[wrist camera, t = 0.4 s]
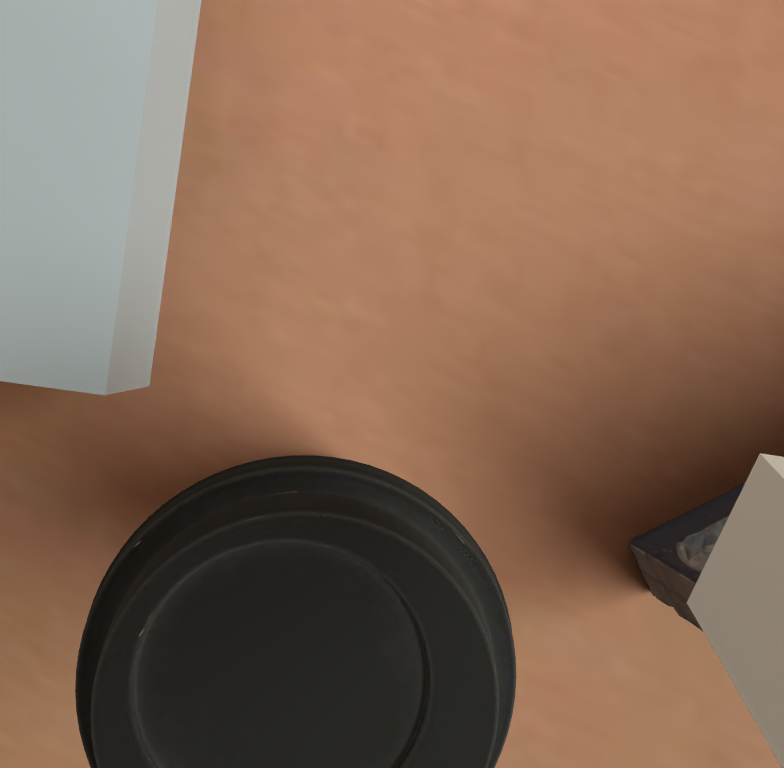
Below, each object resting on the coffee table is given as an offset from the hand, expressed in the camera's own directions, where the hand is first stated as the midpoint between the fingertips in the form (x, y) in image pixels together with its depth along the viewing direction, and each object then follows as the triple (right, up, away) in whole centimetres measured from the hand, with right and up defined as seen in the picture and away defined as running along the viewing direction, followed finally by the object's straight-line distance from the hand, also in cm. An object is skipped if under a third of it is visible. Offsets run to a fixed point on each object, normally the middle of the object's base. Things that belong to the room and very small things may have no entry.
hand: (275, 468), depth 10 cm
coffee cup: (-2, -5, +20) cm, 20 cm away
